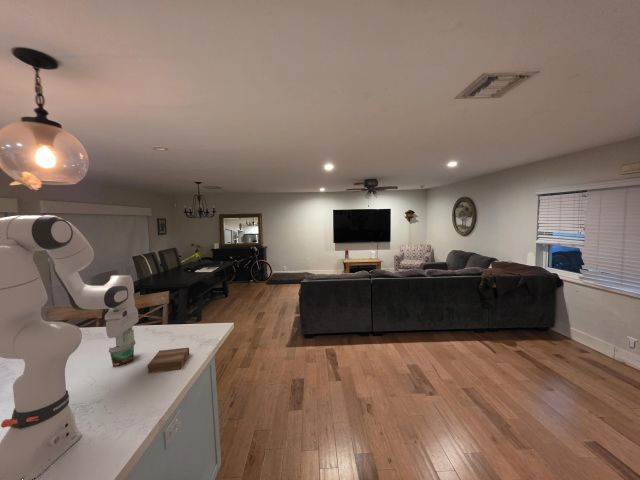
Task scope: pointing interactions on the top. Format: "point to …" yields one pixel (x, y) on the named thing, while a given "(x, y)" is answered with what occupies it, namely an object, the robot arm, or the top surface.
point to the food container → (122, 354)
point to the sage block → (126, 338)
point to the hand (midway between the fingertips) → (125, 339)
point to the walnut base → (168, 360)
